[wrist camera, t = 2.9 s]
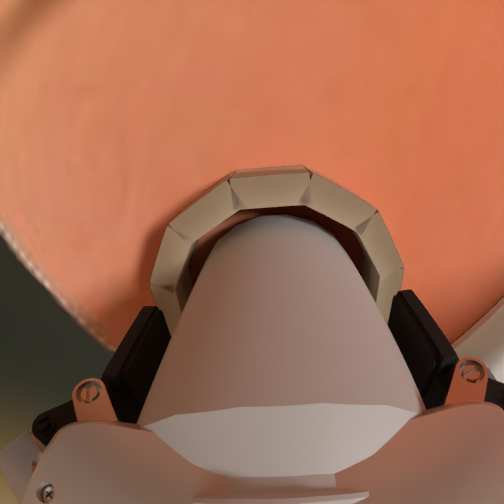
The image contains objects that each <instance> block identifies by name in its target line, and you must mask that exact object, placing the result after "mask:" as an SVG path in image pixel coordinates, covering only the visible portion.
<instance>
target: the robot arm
mask: <svg viewBox="0 0 504 504" xmlns="http://www.w3.org/2000/svg"><path fill="white" fill-rule="evenodd" d="M387 325H388V327H389V329H390V331H391V333H392V335H393V337H394V339H395V341H396V343H397V345H398V347H399V350H400V352H401V354H402V356H403V358H404V360H405V362H406V364H407V366H408V369H409V371H410V373H411V375H412V377H413V380H414V382H415V384H416V386H417V389H418V391H419V393H420V396H421V398H422V400H423V403H424V405H425V408H426V410H423V411H422V414H420V415H418V416H416V417H414V418H412V419H410V420H408V421H407V422H406V424H405V425H404V426H403V427H402V428H401V429H400V430H399V431H398V432H397V433H396V434H395V435H394V436H393V437H392V438H391V439H390V440H389V441H387V442H386V443H385V444H384V445H383V446H382V447H381V448H380V449H379V450H378V451H377V452H376V453H374V454H373V455H372V456H370V457H368V458H366V459H364V460H362V461H360V462H358V463H356V464H354V465H352V466H350V467H348V468H346V469H344V470H342V471H339V472H337V473H335V474H334V476H335V481H336V486H337V489H339V490H352V491H369V497H367V498H365V499H363V500H360V501H358V502H356V503H354V504H504V383H502V382H499V381H496V380H493V379H491V378H488V370H487V367H486V366H485V364H484V363H483V362H482V361H480V360H479V359H476V358H473V357H465V358H463V359H461V360H459V358H458V356H457V354H456V352H455V350H454V349H453V347H452V346H451V344H450V343H449V341H448V340H447V338H446V337H445V335H444V334H443V332H442V331H441V329H440V328H439V326H438V325H437V324H436V322H435V321H434V319H433V318H432V317H431V315H430V314H429V312H428V311H427V310H426V308H425V307H424V305H423V304H422V303H421V301H420V300H419V299H418V297H417V296H416V295H415V293H414V292H413V291H412V290H403V291H398V292H397V294H396V295H394V296H393V300H392V305H391V310H390V315H389V320H388V324H387ZM170 340H171V335H170V332H169V329H168V326H167V323H166V320H165V317H164V313H163V311H162V310H159V308H158V307H157V306H145V307H143V308H142V309H141V311H140V313H139V314H138V316H137V317H136V319H135V321H134V322H133V324H132V325H131V327H130V329H129V330H128V332H127V334H126V335H125V337H124V339H123V340H122V342H121V344H120V345H119V347H118V349H117V350H116V352H115V354H114V355H113V357H112V359H111V360H110V362H109V364H108V366H107V367H106V369H105V371H104V373H103V377H102V378H101V380H99V379H96V378H89V379H85V380H83V381H81V382H80V383H79V384H77V385H76V387H75V388H74V390H73V393H72V399H73V400H71V401H69V402H67V403H64V404H62V405H60V406H58V407H55V408H53V409H51V410H49V411H46V412H44V413H42V414H40V415H39V416H38V417H37V418H36V419H35V420H34V422H33V426H32V432H30V431H29V430H28V431H26V432H25V433H24V434H22V435H21V436H20V437H18V438H17V439H16V440H14V441H13V442H12V443H11V444H9V445H8V446H7V447H5V448H4V449H3V450H2V451H1V453H0V467H1V469H2V471H3V473H4V475H5V477H6V480H7V482H8V483H9V485H10V487H11V489H12V491H13V493H14V495H15V497H16V498H17V500H18V502H19V504H194V503H192V498H193V497H203V496H211V495H219V494H225V493H226V490H227V485H228V481H229V478H228V477H225V476H222V475H219V474H216V473H214V472H211V471H208V470H206V469H203V468H201V467H198V466H196V465H193V464H192V463H190V462H189V461H188V460H186V459H185V458H184V457H183V456H181V455H180V454H179V453H177V452H176V451H175V450H174V449H173V448H171V447H170V446H169V445H168V444H167V443H165V442H164V441H163V440H162V439H161V438H160V437H158V436H157V435H156V434H155V433H154V432H152V431H149V430H146V429H143V428H141V427H140V425H139V424H137V422H138V419H139V416H140V414H141V411H142V409H143V406H144V403H145V401H146V398H147V396H148V393H149V391H150V388H151V386H152V383H153V381H154V378H155V376H156V373H157V371H158V368H159V366H160V364H161V361H162V359H163V356H164V354H165V352H166V349H167V347H168V344H169V342H170Z"/></svg>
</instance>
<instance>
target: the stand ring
mask: <svg viewBox="0 0 504 504" xmlns="http://www.w3.org/2000/svg"><path fill="white" fill-rule="evenodd" d="M296 205H306V206H308V207H310V208H312V209H314V210H316V211H318V212H320V213H322V214H324V215H325V216H327V217H329V218H331V219H333V220H335V221H337V222H339V223H341V224H343V225H345V226H347V227H348V228H350V229H351V231H352V232H353V234H354V236H355V238H356V240H357V241H358V243H359V245H360V247H361V249H362V251H363V253H364V254H363V267H362V279H363V281H364V283H365V285H366V286H367V288H368V290H369V292H370V294H371V295H372V297H373V299H374V301H375V303H376V305H377V306H378V308H379V310H380V312H381V314H382V316H383V318H384V320H385V322H386V324H388V320H389V315H390V310H391V305H392V300H393V296H394V295H396V294H397V292H398V291H401V286H402V280H403V274H404V268H403V266H404V265H403V262H402V260H401V258H400V255H399V253H398V251H397V248H396V246H395V244H394V242H393V240H392V237H391V235H390V233H389V231H388V229H387V227H386V225H385V223H384V220H383V218H382V216H381V214H380V212H379V211H378V210H377V209H376V208H375V207H374V206H372V205H371V204H370V203H368V202H367V201H366V200H364V199H363V198H362V197H360V196H359V195H357V194H356V193H354V192H352V191H350V190H349V189H347V188H345V187H343V186H341V185H340V184H338V183H336V182H334V181H332V180H330V179H329V178H327V177H325V176H323V175H321V174H319V173H317V172H315V171H313V170H311V169H310V168H308V167H306V166H305V167H303V166H302V165H300V166H282V167H268V168H256V169H245V170H237V171H236V172H232V173H231V174H230V175H228V176H227V177H225V178H224V179H223V180H221V181H220V182H219V183H217V184H216V185H214V186H213V187H212V188H210V189H209V190H208V191H206V192H205V193H204V194H202V195H201V196H200V197H198V198H197V199H196V200H195V201H193V202H192V203H191V204H189V205H188V206H187V207H186V208H184V209H183V210H182V211H181V212H180V213H179V214H178V215H177V216H176V217H175V218H174V219H173V220H172V221H171V222H170V223H169V225H168V226H167V227H166V230H165V233H164V237H163V240H162V243H161V246H160V249H159V252H158V255H157V259H156V262H155V265H154V269H153V272H152V276H151V279H150V283H151V284H150V289H151V292H152V295H153V298H154V302H155V305H156V306H157V307H158V308H159V310H162V311H163V313H164V317H165V320H166V323H167V326H168V329H169V332H170V335H171V337H172V335H173V333H174V330H175V328H176V326H177V323H178V321H179V319H180V317H181V314H182V312H183V310H184V307H185V305H186V303H187V301H188V298H189V296H190V294H191V292H192V290H193V287H194V286H193V282H192V277H191V273H190V268H189V262H190V260H191V257H192V255H193V252H194V249H195V247H196V244H197V242H198V239H199V238H200V237H202V236H203V235H204V234H206V233H207V232H209V231H210V230H211V229H213V228H214V227H216V226H217V225H218V224H220V223H221V222H223V221H224V220H226V219H227V218H228V217H230V216H231V215H233V214H234V213H236V212H237V211H239V210H241V209H254V208H267V207H281V206H296Z"/></svg>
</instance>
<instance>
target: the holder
mask: <svg viewBox="0 0 504 504" xmlns="http://www.w3.org/2000/svg"><path fill="white" fill-rule="evenodd" d="M451 346H452V347H453V349H454V350H455V352H456V354H457V356H458V358H459V360H461V359H463V358H465V357H473V358H476V359H479V360H480V361H482V362H483V363H484V364H485V366H486V367H487V370H488V378H491V379H493V380H496V381H499V382H502V383H504V296H503V297H502V298H501V300H500V301H499V302H498V303H497V304H496V305H495V306H494V307H493V308H492V309H491V310H489V311H488V312H487V313H486V314H485V315H484V316H483V317H482V318H481V319H480V320H479V321H478V322H477V323H476V324H474V325H473V326H472V327H471V328H470V329H469V330H468V331H467V332H465V333H464V334H463V335H462V336H461V337H459V338H458V339H457V340H456V341H455V342H453V343H452V344H451Z"/></svg>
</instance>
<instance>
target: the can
mask: <svg viewBox="0 0 504 504" xmlns="http://www.w3.org/2000/svg"><path fill="white" fill-rule="evenodd" d="M423 410H426V408H425V405H424V403H423V400H422V398H421V396H420V393H419V391H418V389H417V386H416V384H415V382H414V380H413V377H412V375H411V373H410V371H409V369H408V366H407V364H406V362H405V360H404V358H403V356H402V354H401V352H400V350H399V347H398V345H397V343H396V341H395V339H394V337H393V335H392V333H391V331H390V329H389V327H388V325H387V324H386V322H385V320H384V318H383V316H382V314H381V312H380V310H379V308H378V306H377V305H376V303H375V301H374V299H373V297H372V295H371V294H370V292H369V290H368V288H367V286H366V285H365V283H364V281H363V279H362V277H361V276H360V274H359V272H358V271H357V269H356V267H355V265H354V264H353V262H352V260H351V259H350V257H349V255H348V254H347V252H346V251H345V249H344V248H343V247H342V245H341V244H340V243H339V241H338V240H337V239H336V237H335V236H334V235H333V234H332V233H330V232H329V231H327V230H326V229H324V228H323V227H321V226H320V225H318V224H317V223H315V222H314V221H311V220H307V219H303V218H300V217H296V216H292V215H288V214H285V215H269V216H259V217H257V218H254V219H251V220H249V221H246V222H244V223H241V224H239V225H236V226H235V227H234V228H232V229H231V230H230V231H229V232H228V233H226V234H225V235H224V236H223V237H222V238H221V239H219V240H218V241H217V242H216V244H215V246H214V247H213V249H212V251H211V252H210V254H209V256H208V258H207V259H206V261H205V263H204V265H203V268H202V270H201V272H200V274H199V276H198V279H197V281H196V283H195V285H194V287H193V290H192V292H191V294H190V296H189V298H188V301H187V303H186V305H185V307H184V310H183V312H182V314H181V317H180V319H179V321H178V323H177V326H176V328H175V330H174V333H173V335H172V337H171V340H170V342H169V344H168V347H167V349H166V352H165V354H164V356H163V359H162V361H161V364H160V366H159V368H158V371H157V373H156V376H155V378H154V381H153V383H152V386H151V388H150V391H149V393H148V396H147V398H146V401H145V403H144V406H143V409H142V411H141V414H140V416H139V419H138V422H137V424H139V425H140V427H141V428H143V429H146V430H149V431H152V432H154V433H155V434H156V435H157V436H158V437H160V438H161V439H162V440H163V441H164V442H165V443H167V444H168V445H169V446H170V447H171V448H173V449H174V450H175V451H176V452H177V453H179V454H180V455H181V456H183V457H184V458H185V459H186V460H188V461H189V462H190V463H192V464H193V465H196V466H198V467H201V468H203V469H206V470H208V471H211V472H214V473H216V474H219V475H222V476H225V477H228V478H229V481H228V485H227V490H226V493H225V494H219V495H211V496H203V497H193V498H192V503H194V504H354V503H356V502H358V501H360V500H363V499H365V498H367V497H369V491H352V490H339V489H337V486H336V481H335V476H334V474H335V473H337V472H339V471H342V470H344V469H346V468H348V467H350V466H352V465H354V464H356V463H358V462H360V461H362V460H364V459H366V458H368V457H370V456H372V455H373V454H374V453H376V452H377V451H378V450H379V449H380V448H381V447H382V446H383V445H384V444H385V443H386V442H387V441H389V440H390V439H391V438H392V437H393V436H394V435H395V434H396V433H397V432H398V431H399V430H400V429H401V428H402V427H403V426H404V425H405V424H406V422H407V421H408V420H410V419H412V418H414V417H416V416H418V415H420V414H422V411H423Z"/></svg>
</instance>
